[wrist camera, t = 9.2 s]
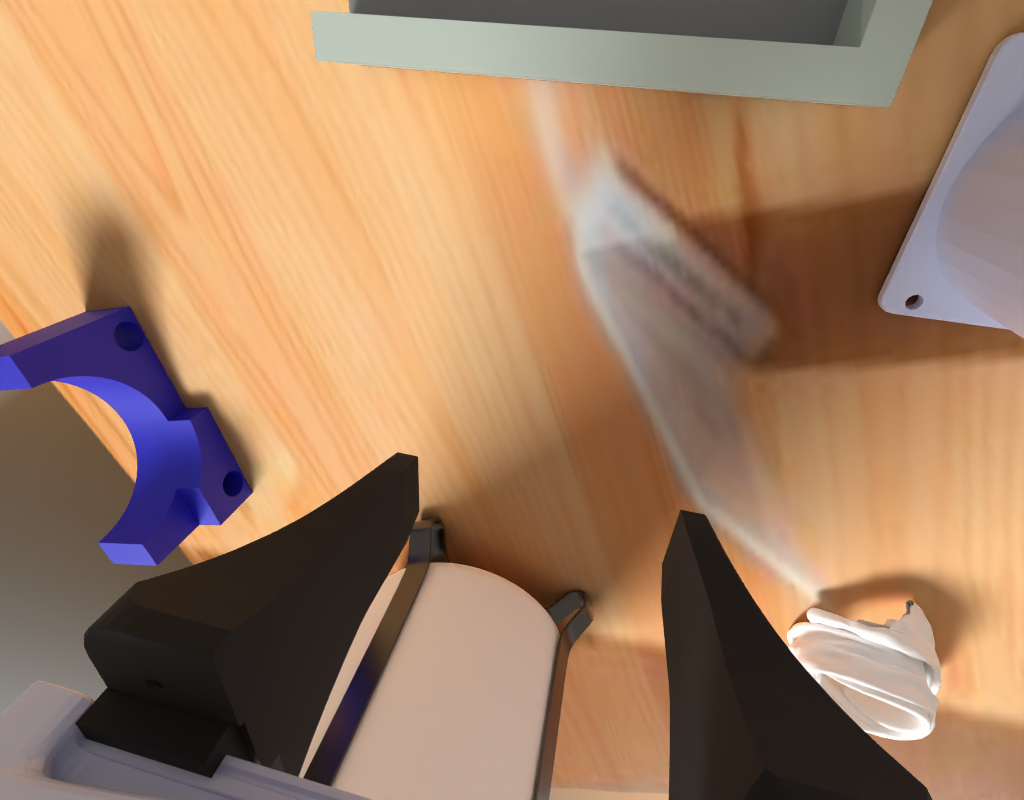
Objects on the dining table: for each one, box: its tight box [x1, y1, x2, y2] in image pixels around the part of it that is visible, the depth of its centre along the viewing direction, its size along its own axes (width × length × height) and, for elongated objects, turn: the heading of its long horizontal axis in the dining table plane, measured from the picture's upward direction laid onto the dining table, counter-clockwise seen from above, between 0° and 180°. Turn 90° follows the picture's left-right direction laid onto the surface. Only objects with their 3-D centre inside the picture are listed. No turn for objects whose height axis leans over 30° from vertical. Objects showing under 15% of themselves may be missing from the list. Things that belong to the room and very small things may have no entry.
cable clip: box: [0, 306, 253, 566], centre depth 26 cm, size 12×4×6 cm, turn 10°
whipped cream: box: [787, 600, 941, 740], centre depth 25 cm, size 8×7×5 cm
